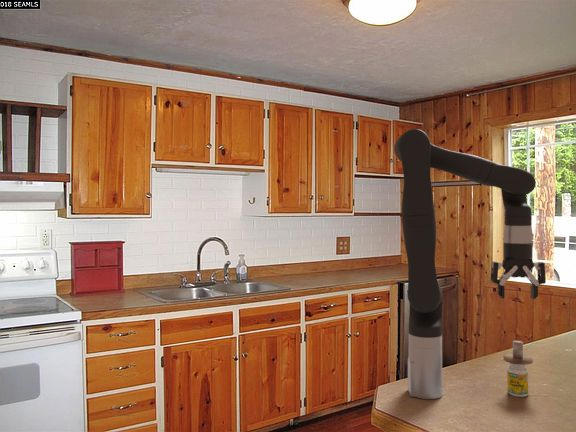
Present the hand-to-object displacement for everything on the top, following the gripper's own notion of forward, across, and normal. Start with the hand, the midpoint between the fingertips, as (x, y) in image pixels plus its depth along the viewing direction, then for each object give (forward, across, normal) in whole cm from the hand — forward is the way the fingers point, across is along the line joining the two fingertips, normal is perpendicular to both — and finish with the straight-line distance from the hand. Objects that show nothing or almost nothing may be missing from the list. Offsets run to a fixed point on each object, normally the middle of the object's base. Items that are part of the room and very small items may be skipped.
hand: (517, 298), depth 144 cm
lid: (+18, 0, 0) cm, 18 cm away
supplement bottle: (+28, 0, 0) cm, 28 cm away
